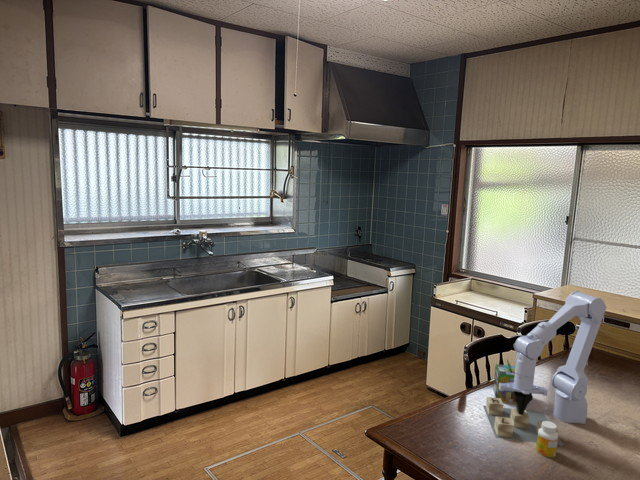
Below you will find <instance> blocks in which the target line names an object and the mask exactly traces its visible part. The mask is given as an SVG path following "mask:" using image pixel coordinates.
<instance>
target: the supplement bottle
mask: <svg viewBox="0 0 640 480" xmlns="http://www.w3.org/2000/svg"><path fill="white" fill-rule="evenodd" d="M557 427H558V426H557V424H555V423H554V422H552V421H549V420H548V421H543V422H542V425H541V428H540V429H539V430H538V437H537V443H536V446H535V451H536V452H537V453H538V454H539V455H541V456H543V457H545V458H555V457H556V456H557V450H558V445H557V443H558V437H559V434H557V432H556V430H558V428H557Z"/></svg>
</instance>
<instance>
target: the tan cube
mask: <svg viewBox="0 0 640 480" xmlns="http://www.w3.org/2000/svg"><path fill="white" fill-rule="evenodd" d="M542 422H543V421H538V425H537V434H538V430H539V429H540V428H541V425H542ZM556 432H557V434H558V433H559V430H558V429H557V430H556ZM558 435H559V434H558Z"/></svg>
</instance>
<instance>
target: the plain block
mask: <svg viewBox="0 0 640 480" xmlns="http://www.w3.org/2000/svg"><path fill="white" fill-rule="evenodd" d="M510 409H511V416H510V419H511V421H512V423H513V425H514V427H519V428H528V426H529V415H528V413H527V412H526V409H525V411H524V413H523V414H518V412H517V408H510Z"/></svg>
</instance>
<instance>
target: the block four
mask: <svg viewBox="0 0 640 480" xmlns="http://www.w3.org/2000/svg"><path fill="white" fill-rule="evenodd" d="M485 406H486V409H487V412H488V414H491V415H500V416H502V415H503V408H504V406H505V404H504V402H502V401H501V398H496V397H490V396H487V397H486V403H485Z"/></svg>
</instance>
